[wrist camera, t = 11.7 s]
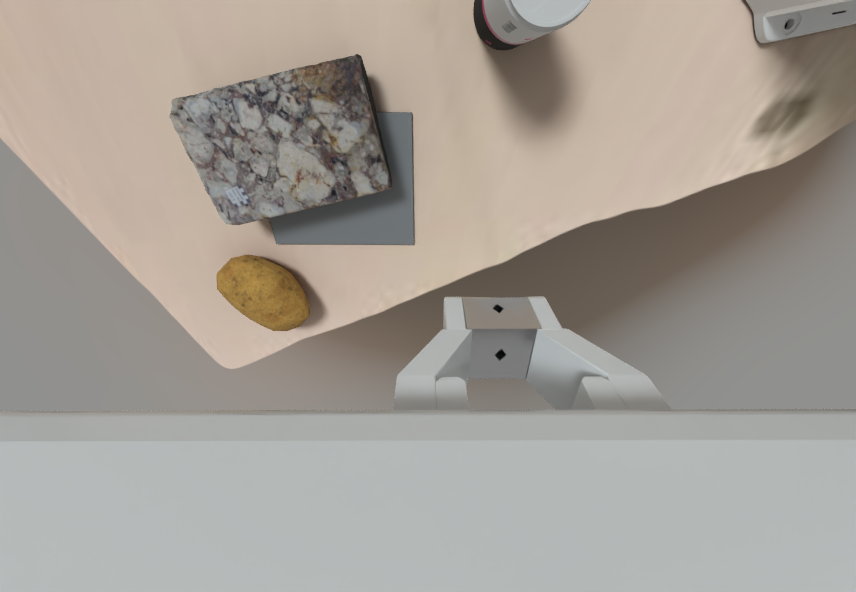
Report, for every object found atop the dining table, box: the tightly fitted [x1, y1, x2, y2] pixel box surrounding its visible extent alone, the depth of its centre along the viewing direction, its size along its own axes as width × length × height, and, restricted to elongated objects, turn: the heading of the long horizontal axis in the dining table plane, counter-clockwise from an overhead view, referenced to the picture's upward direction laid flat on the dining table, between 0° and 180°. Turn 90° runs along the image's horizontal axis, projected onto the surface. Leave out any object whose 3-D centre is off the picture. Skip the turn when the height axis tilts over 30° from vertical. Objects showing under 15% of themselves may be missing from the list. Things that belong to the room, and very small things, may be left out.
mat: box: [270, 112, 414, 245], centre depth 41 cm, size 19×16×1 cm
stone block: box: [170, 54, 393, 225], centre depth 36 cm, size 13×7×20 cm
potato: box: [217, 255, 310, 331], centre depth 46 cm, size 9×13×7 cm
